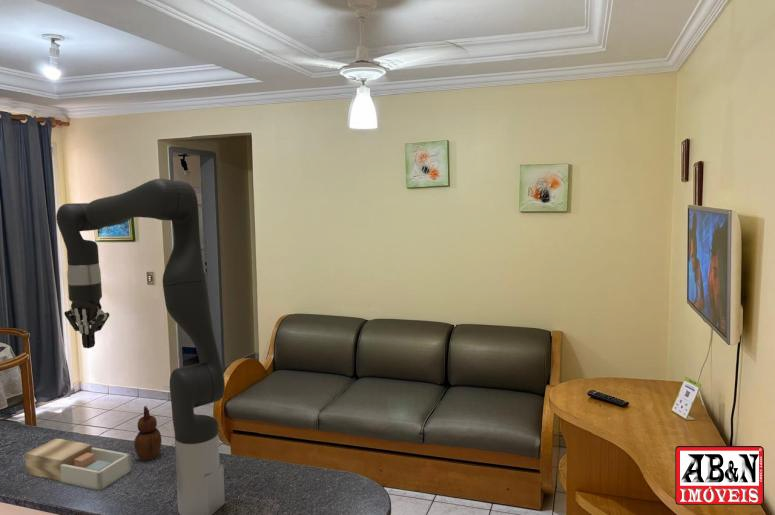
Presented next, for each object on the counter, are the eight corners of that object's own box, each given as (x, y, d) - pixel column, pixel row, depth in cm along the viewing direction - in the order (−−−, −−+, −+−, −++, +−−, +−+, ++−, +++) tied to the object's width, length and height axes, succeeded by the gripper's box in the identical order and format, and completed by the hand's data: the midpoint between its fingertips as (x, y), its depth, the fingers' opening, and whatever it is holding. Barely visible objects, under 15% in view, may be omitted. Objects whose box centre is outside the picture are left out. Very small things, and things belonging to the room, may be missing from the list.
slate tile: (98, 460, 141) (98, 469, 141) (85, 467, 137) (86, 477, 137) (110, 462, 139) (111, 471, 140) (98, 470, 136) (99, 479, 136)
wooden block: (92, 464, 144) (91, 444, 144) (63, 481, 136) (61, 460, 135) (57, 457, 148) (56, 438, 147) (26, 473, 140) (25, 453, 139)
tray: (131, 470, 141) (130, 454, 141) (100, 490, 132) (99, 473, 131) (94, 463, 145) (93, 447, 144) (61, 482, 135) (60, 465, 135)
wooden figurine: (150, 464, 145) (148, 409, 143) (131, 461, 146) (128, 407, 144) (166, 452, 151) (163, 399, 150) (147, 450, 153) (144, 398, 151)
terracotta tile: (88, 467, 142) (95, 468, 141) (74, 474, 138) (82, 476, 138) (87, 452, 142) (94, 454, 141) (73, 459, 138) (81, 461, 137)
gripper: (116, 280, 142) (120, 345, 145) (76, 278, 146) (80, 341, 149) (93, 285, 135) (97, 353, 137) (51, 282, 139) (56, 349, 141)
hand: (88, 347), depth 143 cm, fingers closed
